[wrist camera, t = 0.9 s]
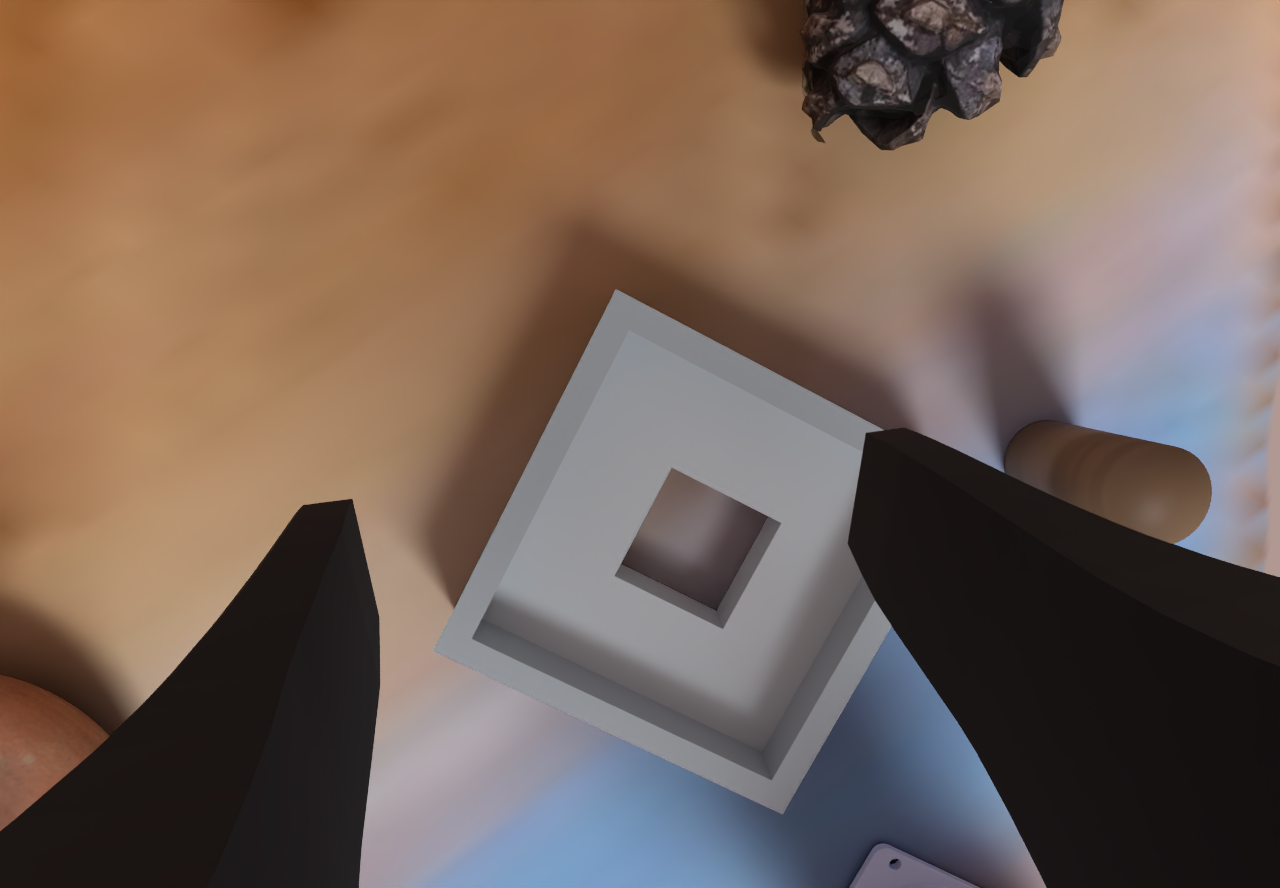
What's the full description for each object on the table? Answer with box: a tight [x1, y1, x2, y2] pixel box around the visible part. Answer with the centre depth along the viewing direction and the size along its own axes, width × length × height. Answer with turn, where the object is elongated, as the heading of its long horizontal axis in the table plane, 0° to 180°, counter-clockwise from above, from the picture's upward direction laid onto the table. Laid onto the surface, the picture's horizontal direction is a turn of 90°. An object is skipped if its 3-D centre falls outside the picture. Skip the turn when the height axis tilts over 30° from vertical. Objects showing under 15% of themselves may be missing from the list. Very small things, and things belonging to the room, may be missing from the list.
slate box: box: [433, 289, 892, 815], centre depth 31 cm, size 14×14×4 cm
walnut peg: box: [1004, 420, 1212, 544], centre depth 29 cm, size 3×3×7 cm
